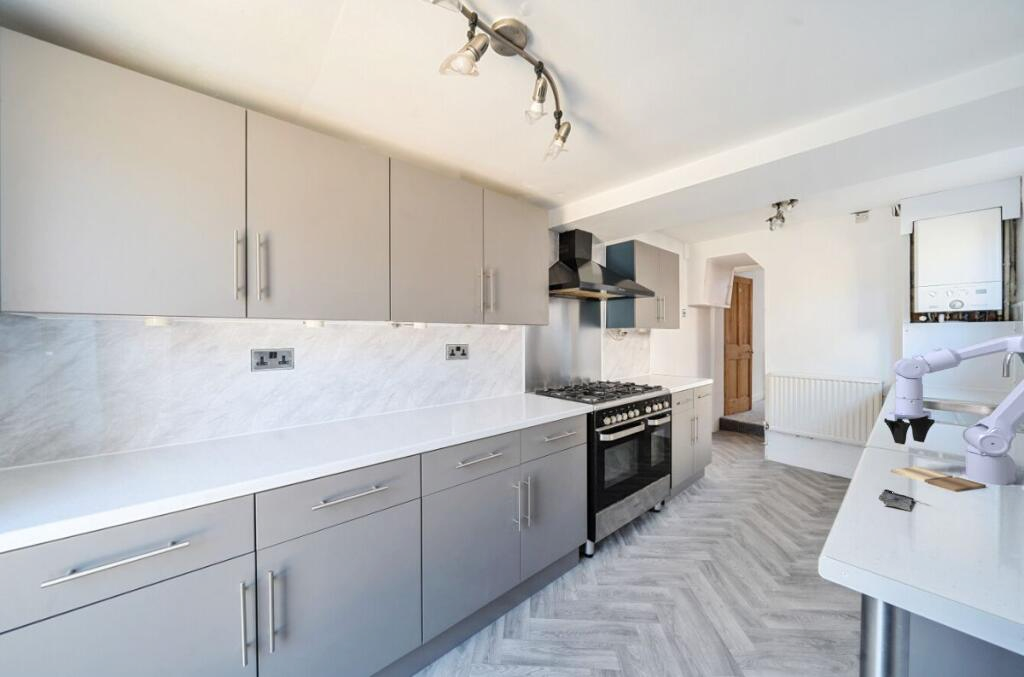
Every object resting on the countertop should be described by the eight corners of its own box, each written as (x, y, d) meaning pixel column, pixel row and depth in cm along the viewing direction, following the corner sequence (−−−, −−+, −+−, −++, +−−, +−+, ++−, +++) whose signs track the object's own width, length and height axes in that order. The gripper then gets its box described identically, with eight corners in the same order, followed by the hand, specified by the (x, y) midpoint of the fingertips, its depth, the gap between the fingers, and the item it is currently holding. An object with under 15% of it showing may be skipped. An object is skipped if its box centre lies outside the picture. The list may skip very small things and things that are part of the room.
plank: (917, 471, 113) (917, 466, 113) (952, 480, 106) (952, 475, 105) (891, 474, 111) (890, 469, 111) (924, 484, 103) (924, 479, 103)
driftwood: (908, 515, 89) (908, 506, 89) (870, 504, 95) (870, 496, 95) (926, 494, 101) (926, 486, 101) (891, 485, 106) (891, 478, 106)
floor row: (913, 471, 114) (913, 464, 114) (985, 491, 99) (985, 484, 99) (885, 474, 112) (885, 468, 112) (955, 496, 97) (955, 489, 97)
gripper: (910, 394, 118) (911, 437, 118) (874, 397, 115) (875, 440, 115) (940, 398, 111) (940, 443, 111) (902, 401, 108) (903, 447, 108)
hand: (909, 442), depth 113 cm, fingers open, 7 cm apart
